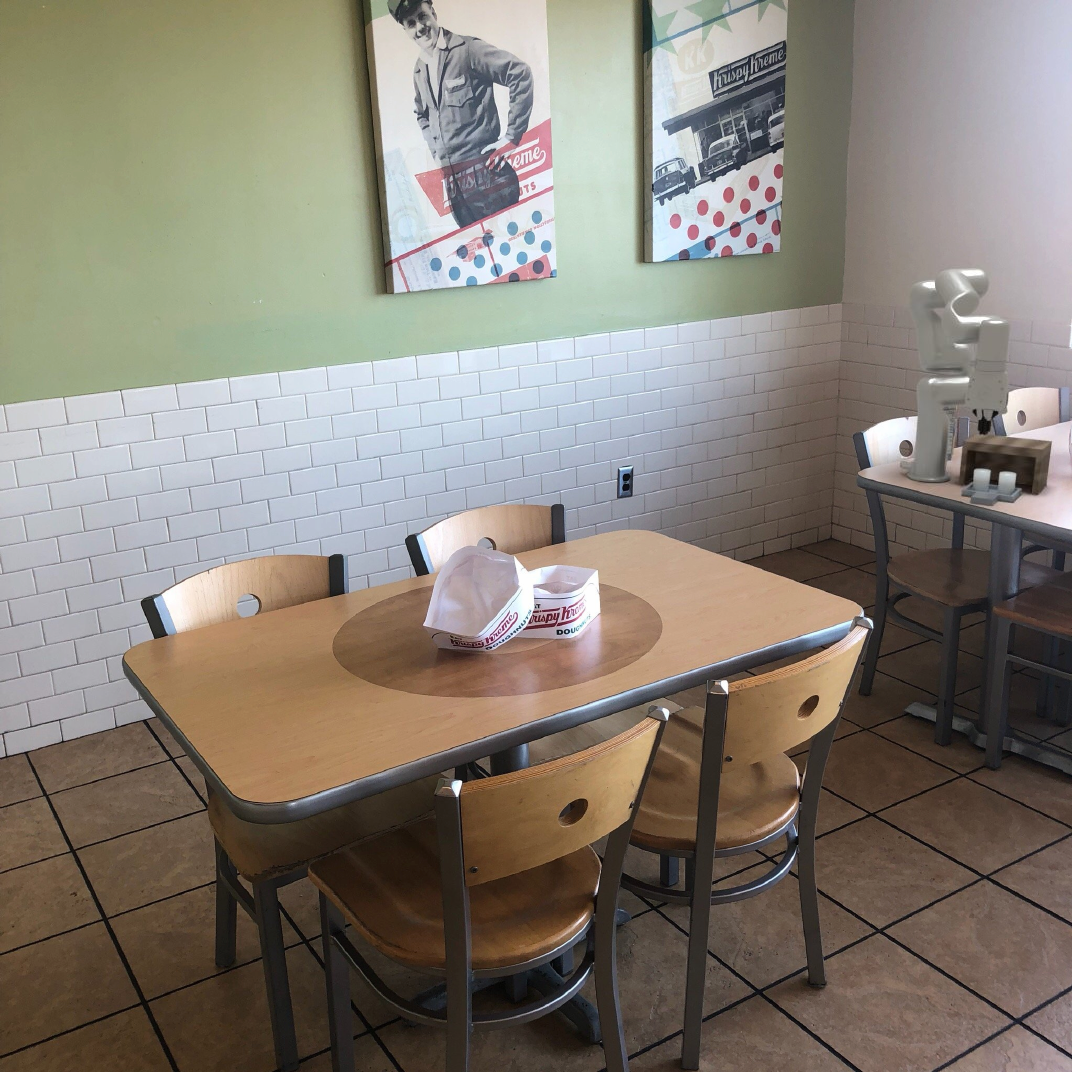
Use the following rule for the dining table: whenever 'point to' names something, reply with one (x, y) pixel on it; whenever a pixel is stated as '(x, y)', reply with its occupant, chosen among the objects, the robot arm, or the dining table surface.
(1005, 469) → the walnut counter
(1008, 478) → the glasses tray
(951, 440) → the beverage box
